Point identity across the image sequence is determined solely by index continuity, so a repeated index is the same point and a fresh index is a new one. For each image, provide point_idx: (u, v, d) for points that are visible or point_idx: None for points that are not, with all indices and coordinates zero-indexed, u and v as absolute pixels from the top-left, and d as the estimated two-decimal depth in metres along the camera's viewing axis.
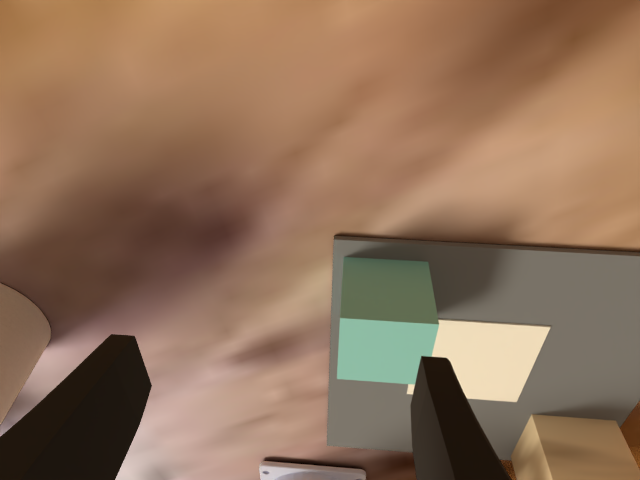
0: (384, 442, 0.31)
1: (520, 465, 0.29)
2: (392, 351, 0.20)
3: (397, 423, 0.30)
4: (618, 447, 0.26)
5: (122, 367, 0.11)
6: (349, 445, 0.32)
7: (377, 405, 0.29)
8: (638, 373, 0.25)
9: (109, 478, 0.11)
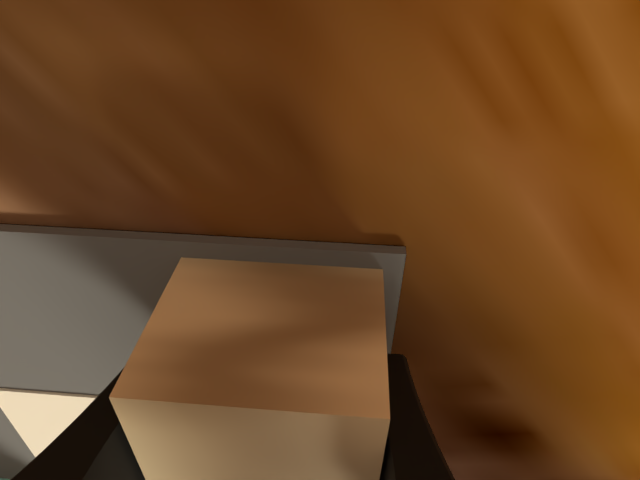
0: None
1: None
2: None
3: None
4: None
5: None
6: None
7: None
8: (15, 263, 0.12)
9: None
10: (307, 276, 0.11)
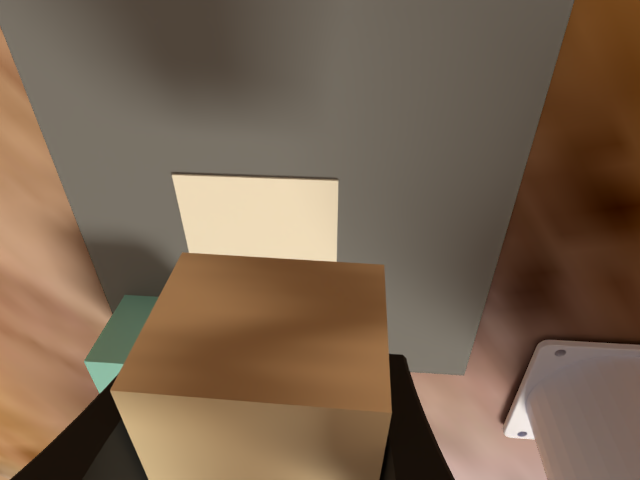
0: (458, 321, 0.21)
1: None
2: None
3: (407, 309, 0.21)
4: None
5: None
6: (464, 354, 0.23)
7: None
8: (237, 14, 0.14)
9: None
10: (308, 271, 0.11)
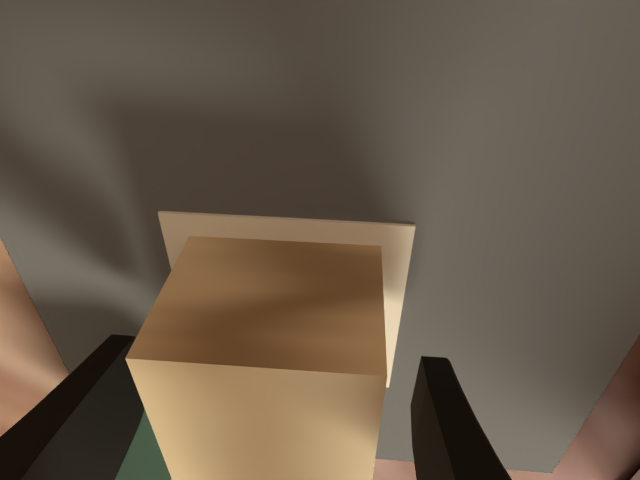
0: (558, 412, 0.15)
1: None
2: None
3: (490, 396, 0.15)
4: None
5: (122, 367, 0.11)
6: (558, 450, 0.17)
7: None
8: None
9: (109, 478, 0.11)
10: (309, 252, 0.11)
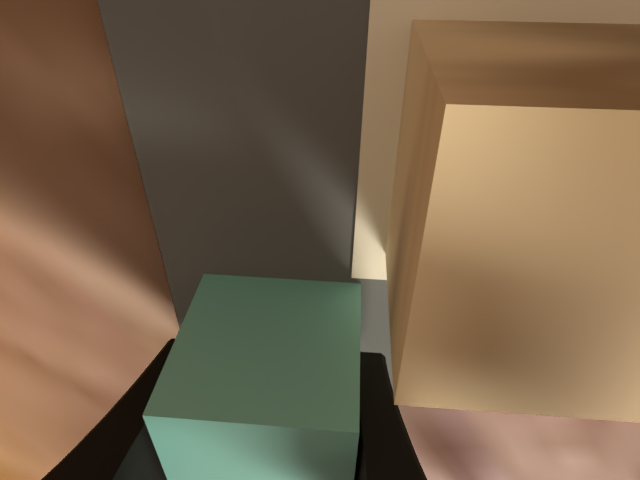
0: None
1: None
2: (247, 468, 0.09)
3: None
4: (416, 91, 0.07)
5: None
6: None
7: None
8: None
9: None
10: (622, 28, 0.07)
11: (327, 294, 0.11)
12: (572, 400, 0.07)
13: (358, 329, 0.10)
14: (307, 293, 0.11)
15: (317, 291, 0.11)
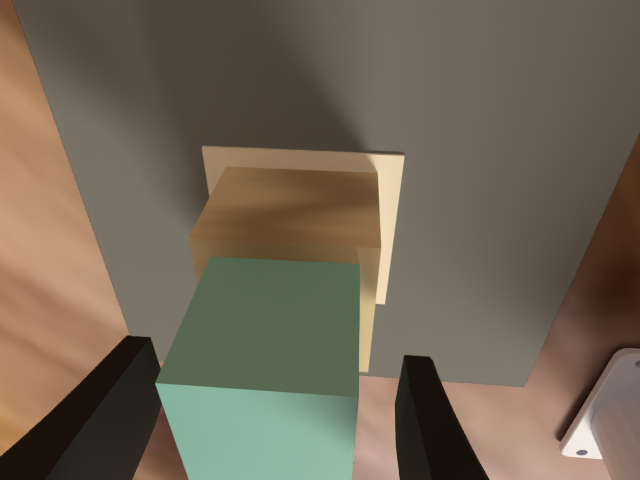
0: (525, 326, 0.18)
1: None
2: (253, 436, 0.10)
3: (468, 311, 0.18)
4: None
5: (139, 368, 0.11)
6: (528, 364, 0.20)
7: (417, 333, 0.19)
8: None
9: None
10: (321, 176, 0.14)
11: (328, 274, 0.12)
12: None
13: (357, 305, 0.11)
14: (308, 273, 0.12)
15: (318, 271, 0.12)
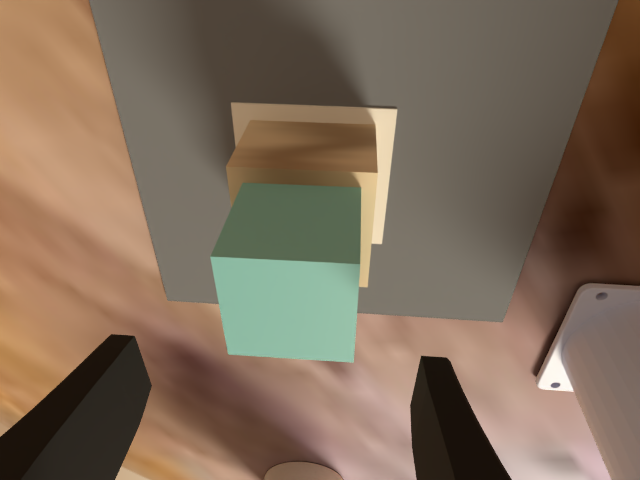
0: (502, 263, 0.22)
1: None
2: (280, 305, 0.13)
3: (453, 250, 0.21)
4: None
5: (122, 367, 0.11)
6: (505, 299, 0.23)
7: (410, 271, 0.22)
8: None
9: (109, 478, 0.11)
10: (329, 127, 0.18)
11: (336, 194, 0.15)
12: None
13: (359, 212, 0.14)
14: (320, 193, 0.15)
15: (328, 191, 0.15)
